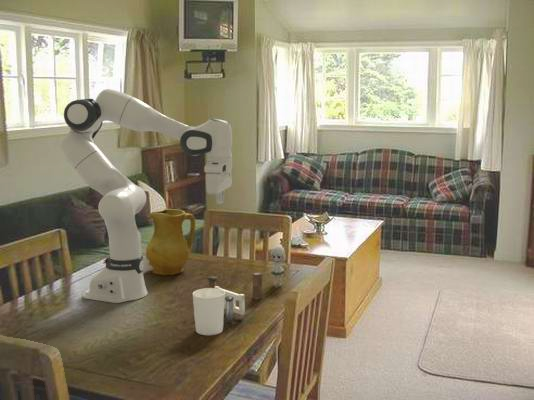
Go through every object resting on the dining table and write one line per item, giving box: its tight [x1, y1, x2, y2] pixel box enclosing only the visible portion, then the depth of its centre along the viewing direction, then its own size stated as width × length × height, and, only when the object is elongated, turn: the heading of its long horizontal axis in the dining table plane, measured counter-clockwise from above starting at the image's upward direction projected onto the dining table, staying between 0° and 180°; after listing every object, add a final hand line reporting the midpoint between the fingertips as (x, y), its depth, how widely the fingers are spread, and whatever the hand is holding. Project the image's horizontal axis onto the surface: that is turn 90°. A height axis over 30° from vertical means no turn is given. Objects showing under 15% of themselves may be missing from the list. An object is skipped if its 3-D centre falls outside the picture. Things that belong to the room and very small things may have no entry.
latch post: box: [225, 296, 234, 324], centre depth 207 cm, size 3×3×8 cm
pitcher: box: [145, 208, 196, 276], centre depth 262 cm, size 17×19×25 cm
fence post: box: [252, 271, 263, 301], centre depth 229 cm, size 2×2×9 cm
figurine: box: [265, 245, 292, 287], centre depth 245 cm, size 10×6×15 cm, turn 68°
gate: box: [214, 285, 246, 316], centre depth 214 cm, size 14×1×6 cm, turn 45°
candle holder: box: [192, 287, 225, 336], centre depth 199 cm, size 10×10×12 cm
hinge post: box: [207, 276, 218, 288], centre depth 219 cm, size 3×3×11 cm
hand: (219, 203), depth 234 cm, fingers closed
